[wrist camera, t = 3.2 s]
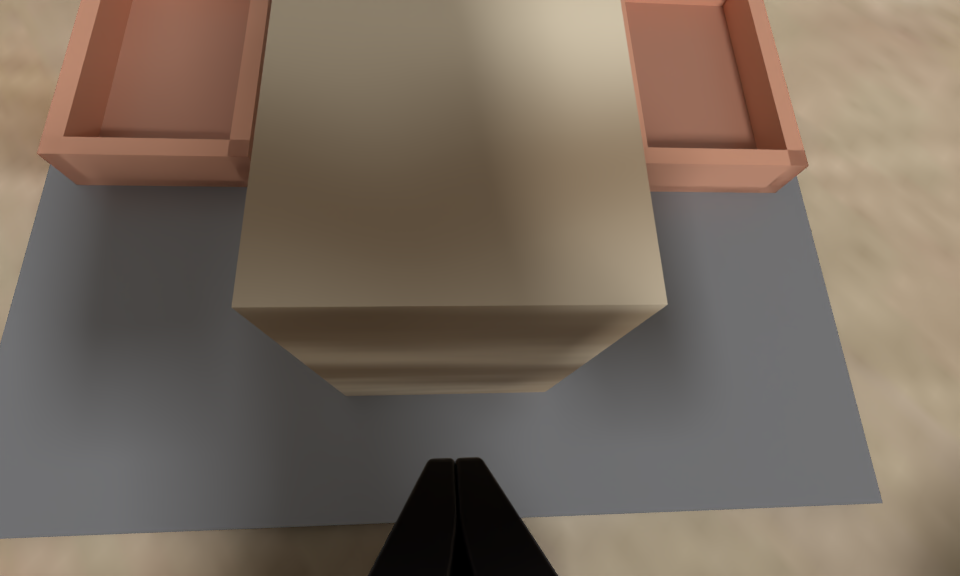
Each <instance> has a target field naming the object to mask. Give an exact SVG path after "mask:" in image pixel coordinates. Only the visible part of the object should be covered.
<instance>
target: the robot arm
mask: <svg viewBox="0 0 960 576" xmlns="http://www.w3.org/2000/svg"><path fill="white" fill-rule="evenodd" d="M368 576H558V575H557V573H556V572H555V570H554V569H553V567H552V566H551V564H550V562H549V561H548V559H547V558H546V556H545V555H544V553H543V552H542V550H541V549H540V547H539V545H538V544H537V542H536V541H535V539H534V538H533V536H532V535H531V533H530V532H529V530H528V528H527V527H526V525H525V524H524V522H523V521H522V519H521V518H520V516H519V515H518V513H517V512H516V510H515V508H514V507H513V505H512V504H511V502H510V501H509V499H508V498H507V496H506V495H505V493H504V491H503V490H502V488H501V487H500V485H499V484H498V482H497V481H496V479H495V478H494V476H493V474H492V473H491V471H490V470H489V468H488V467H487V465H486V464H485V462H484V461H483V460H482V459H481V458H479V457H464V458H458V459H456V461H454V459H452V458H433V459H430V460H428V462H427V463H426V465H425V467H424V469H423V470H422V472H421V474H420V476H419V478H418V480H417V482H416V484H415V486H414V488H413V490H412V492H411V494H410V496H409V497H408V499H407V501H406V503H405V505H404V507H403V509H402V511H401V513H400V515H399V517H398V519H397V521H396V523H395V525H394V526H393V528H392V530H391V532H390V534H389V536H388V538H387V540H386V542H385V544H384V546H383V548H382V550H381V552H380V554H379V555H378V557H377V559H376V561H375V563H374V565H373V567H372V569H371V571H370V573H369V575H368Z"/></svg>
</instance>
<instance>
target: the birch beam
mask: <svg viewBox="0 0 960 576" xmlns="http://www.w3.org/2000/svg"><path fill="white" fill-rule="evenodd" d="M666 305H668V303H667V297H666V290H665V284H664V277H663V271H662V264H661V258H660V252H659V245H658V239H657V232H656V226H655V219H654V213H653V207H652V200H651V194H650V187H649V181H648V174H647V168H646V162H645V155H644V149H643V142H642V136H641V129H640V123H639V117H638V110H637V104H636V97H635V91H634V84H633V78H632V72H631V65H630V59H629V52H628V46H627V39H626V33H625V27H624V20H623V14H622V7H621V1H620V0H272V4H271V12H270V19H269V27H268V34H267V42H266V50H265V57H264V65H263V72H262V80H261V87H260V95H259V103H258V110H257V118H256V125H255V133H254V140H253V148H252V155H251V163H250V171H249V178H248V186H247V193H246V201H245V208H244V216H243V224H242V231H241V239H240V246H239V254H238V261H237V269H236V277H235V284H234V292H233V299H232V307H231V308H233V309H234V310H235V311H237V312H238V313H239V314H240V315H242V316H243V317H244V318H246V319H247V320H248V321H250V322H251V323H252V324H253V325H255V326H256V327H257V328H259V329H260V330H261V331H262V332H264V333H265V334H266V335H268V336H269V337H270V338H271V339H273V340H274V341H275V342H277V343H278V344H279V345H280V346H282V347H283V348H284V349H286V350H287V351H288V352H290V353H291V354H292V355H293V356H295V357H296V358H297V359H299V360H300V361H301V362H302V363H304V364H305V365H306V366H308V367H309V368H310V369H311V370H313V371H314V372H315V373H317V374H318V375H319V376H320V377H322V378H323V379H324V380H326V381H327V382H328V383H330V384H331V385H332V386H333V387H335V388H336V389H337V390H339V391H340V392H341V393H342V394H344V395H345V396H375V395H424V394H473V393H521V392H546V391H547V390H549V389H550V388H552V387H553V386H554V385H556V384H557V383H559V382H560V381H561V380H563V379H564V378H566V377H567V376H568V375H570V374H571V373H573V372H574V371H575V370H577V369H578V368H580V367H581V366H582V365H584V364H585V363H587V362H588V361H589V360H591V359H592V358H594V357H595V356H596V355H598V354H599V353H601V352H602V351H603V350H605V349H606V348H608V347H609V346H610V345H612V344H613V343H615V342H616V341H617V340H619V339H620V338H622V337H623V336H624V335H626V334H627V333H629V332H630V331H631V330H633V329H634V328H636V327H637V326H638V325H640V324H641V323H643V322H644V321H645V320H647V319H648V318H650V317H651V316H652V315H654V314H655V313H657V312H658V311H659V310H661V309H662V308H664V307H665V306H666Z"/></svg>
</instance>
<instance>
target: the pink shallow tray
mask: <svg viewBox="0 0 960 576" xmlns="http://www.w3.org/2000/svg"><path fill="white" fill-rule="evenodd" d="M620 1H621V7H622V14H623V20H624V27H625V33H626V39H627V46H628V52H629V59H630V65H631V72H632V78H633V84H634V91H635V97H636V104H637V110H638V117H639V123H640V129H641V136H642V142H643V149H644V155H645V162H646V168H647V174H648V181H649V187H650V192H733V193H776V192H777V191H778V190H780V189H781V188H782V187H783V186H784V185H786V184H787V183H788V182H789V181H791V180H792V179H793V178H794V177H795V176H797V175H798V174H799V173H800V172H802V171H803V170H804V169H805V168H806V167H808V162H807V158H806V155H805V151H804V147H803V144H802V140H801V136H800V133H799V129H798V126H797V122H796V118H795V115H794V111H793V107H792V104H791V100H790V96H789V93H788V89H787V85H786V82H785V78H784V74H783V71H782V67H781V63H780V60H779V56H778V52H777V49H776V45H775V41H774V38H773V34H772V30H771V27H770V23H769V20H768V16H767V12H766V9H765V5H764V1H763V0H620Z"/></svg>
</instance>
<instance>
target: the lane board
mask: <svg viewBox="0 0 960 576" xmlns="http://www.w3.org/2000/svg"><path fill="white" fill-rule="evenodd" d="M246 193H247V187H207V186H120V185H76V184H75V183H74V182H73V181H71V180H70V179H69V178H67V177H66V176H65V175H64V174H62V173H61V172H60V171H59V170H57V169H56V168H55V167H53V166H52V165H51V164H50V167H49V170H48V174H47V178H46V181H45V185H44V188H43V192H42V196H41V199H40V203H39V206H38V210H37V214H36V217H35V221H34V224H33V228H32V232H31V235H30V239H29V242H28V246H27V250H26V253H25V257H24V260H23V264H22V268H21V271H20V275H19V278H18V282H17V286H16V289H15V293H14V296H13V300H12V304H11V307H10V311H9V314H8V318H7V322H6V325H5V329H4V332H3V336H2V340H1V343H0V539H4V538H28V537H53V536H78V535H103V534H128V533H153V532H177V531H202V530H227V529H252V528H277V527H302V526H326V525H351V524H376V523H396V521H397V519H398V517H399V515H400V513H401V511H402V509H403V507H404V505H405V503H406V501H407V499H408V497H409V496H410V494H411V492H412V490H413V488H414V486H415V484H416V482H417V480H418V478H419V476H420V474H421V472H422V470H423V469H424V467H425V465H426V463H427V462H428V460H430V459H433V458H452V459H454V461H456V459H458V458H464V457H479V458H481V459H482V460H483V461H484V462H485V464H486V465H487V467H488V468H489V470H490V471H491V473H492V474H493V476H494V478H495V479H496V481H497V482H498V484H499V485H500V487H501V488H502V490H503V491H504V493H505V495H506V496H507V498H508V499H509V501H510V502H511V504H512V505H513V507H514V508H515V510H516V512H517V513H518V515H519V516H520V518H525V517H550V516H575V515H599V514H624V513H649V512H674V511H699V510H724V509H748V508H773V507H798V506H823V505H848V504H873V503H882V499H881V495H880V491H879V488H878V484H877V480H876V476H875V472H874V469H873V465H872V461H871V457H870V453H869V449H868V446H867V442H866V438H865V434H864V430H863V427H862V423H861V419H860V415H859V411H858V408H857V404H856V400H855V396H854V392H853V389H852V385H851V381H850V377H849V373H848V370H847V366H846V362H845V358H844V354H843V351H842V347H841V343H840V339H839V335H838V332H837V328H836V324H835V320H834V316H833V313H832V309H831V305H830V301H829V297H828V294H827V290H826V286H825V282H824V278H823V275H822V271H821V267H820V263H819V259H818V256H817V252H816V248H815V244H814V240H813V237H812V233H811V229H810V225H809V221H808V218H807V214H806V210H805V206H804V202H803V199H802V195H801V191H800V187H799V183H798V180H797V176H795V177H794V178H793V179H792V180H791V181H789V182H788V183H787V184H786V185H784V186H783V187H782V188H781V189H780V190H778V191H777V192H776V193H733V192H650V194H651V200H652V207H653V213H654V219H655V226H656V232H657V239H658V245H659V252H660V258H661V264H662V271H663V277H664V284H665V290H666V297H667V303H668V305H666V306H665V307H664V308H662V309H661V310H659V311H658V312H657V313H655V314H654V315H652V316H651V317H650V318H648V319H647V320H645V321H644V322H643V323H641V324H640V325H638V326H637V327H636V328H634V329H633V330H631V331H630V332H629V333H627V334H626V335H624V336H623V337H622V338H620V339H619V340H617V341H616V342H615V343H613V344H612V345H610V346H609V347H608V348H606V349H605V350H603V351H602V352H601V353H599V354H598V355H596V356H595V357H594V358H592V359H591V360H589V361H588V362H587V363H585V364H584V365H582V366H581V367H580V368H578V369H577V370H575V371H574V372H573V373H571V374H570V375H568V376H567V377H566V378H564V379H563V380H561V381H560V382H559V383H557V384H556V385H554V386H553V387H552V388H550V389H549V390H547V391H546V392H521V393H473V394H424V395H375V396H345V395H344V394H342V393H341V392H340V391H339V390H337V389H336V388H335V387H333V386H332V385H331V384H330V383H328V382H327V381H326V380H324V379H323V378H322V377H320V376H319V375H318V374H317V373H315V372H314V371H313V370H311V369H310V368H309V367H308V366H306V365H305V364H304V363H302V362H301V361H300V360H299V359H297V358H296V357H295V356H293V355H292V354H291V353H290V352H288V351H287V350H286V349H284V348H283V347H282V346H280V345H279V344H278V343H277V342H275V341H274V340H273V339H271V338H270V337H269V336H268V335H266V334H265V333H264V332H262V331H261V330H260V329H259V328H257V327H256V326H255V325H253V324H252V323H251V322H250V321H248V320H247V319H246V318H244V317H243V316H242V315H240V314H239V313H238V312H237V311H235V310H234V309H233V308H231V307H232V299H233V292H234V284H235V277H236V269H237V261H238V254H239V246H240V239H241V231H242V224H243V216H244V208H245V201H246Z"/></svg>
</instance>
